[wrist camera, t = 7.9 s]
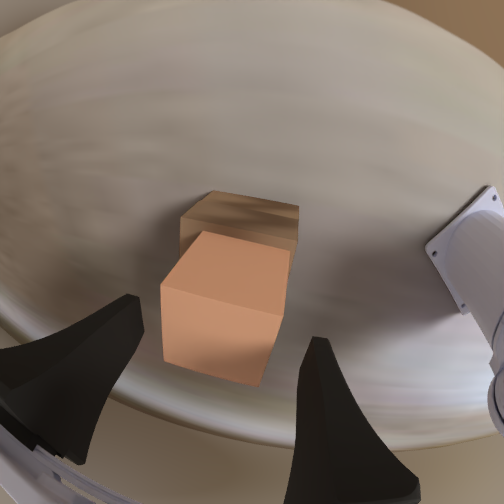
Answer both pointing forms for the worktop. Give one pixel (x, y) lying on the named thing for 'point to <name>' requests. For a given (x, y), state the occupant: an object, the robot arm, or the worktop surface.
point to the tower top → (238, 226)
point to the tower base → (254, 204)
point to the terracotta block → (224, 307)
